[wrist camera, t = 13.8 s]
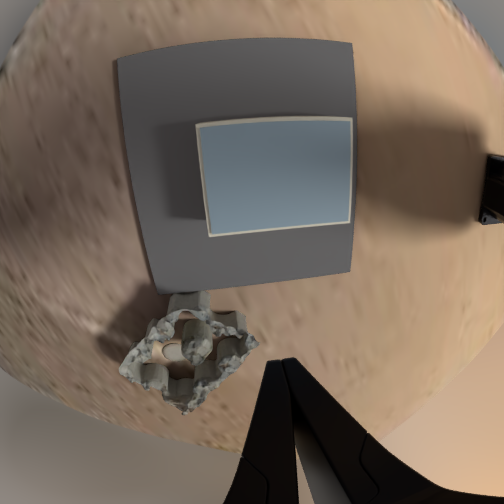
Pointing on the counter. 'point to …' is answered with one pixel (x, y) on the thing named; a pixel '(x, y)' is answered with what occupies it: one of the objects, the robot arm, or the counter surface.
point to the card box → (275, 172)
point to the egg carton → (190, 351)
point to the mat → (187, 158)
